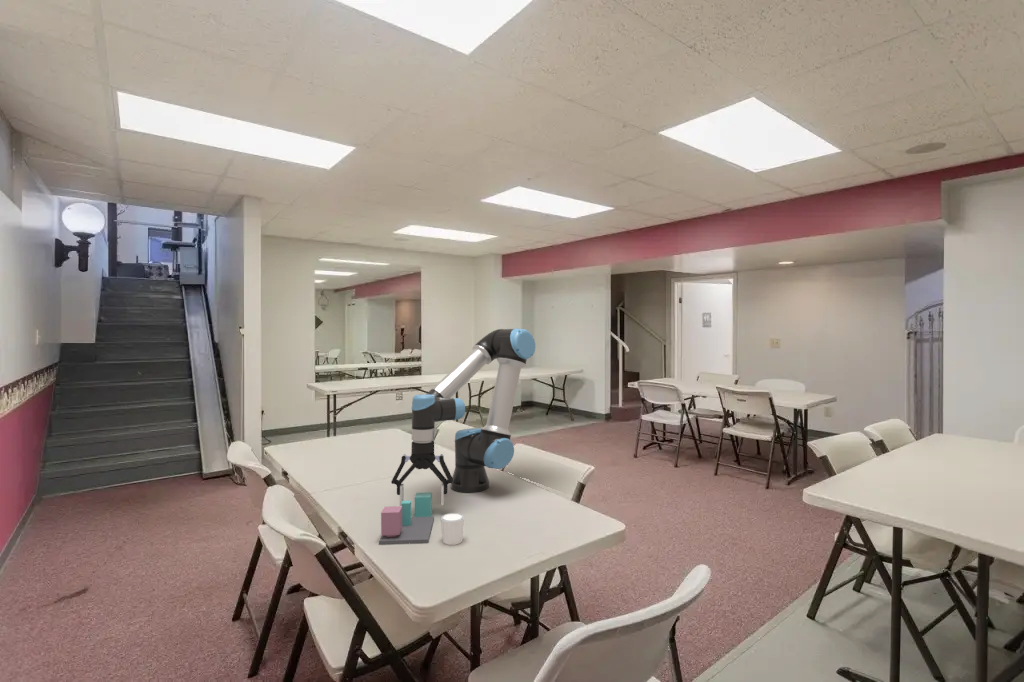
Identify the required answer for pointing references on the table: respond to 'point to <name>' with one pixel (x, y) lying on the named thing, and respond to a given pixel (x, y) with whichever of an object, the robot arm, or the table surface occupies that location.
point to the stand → (404, 526)
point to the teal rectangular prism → (423, 504)
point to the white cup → (452, 528)
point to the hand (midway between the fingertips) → (422, 504)
